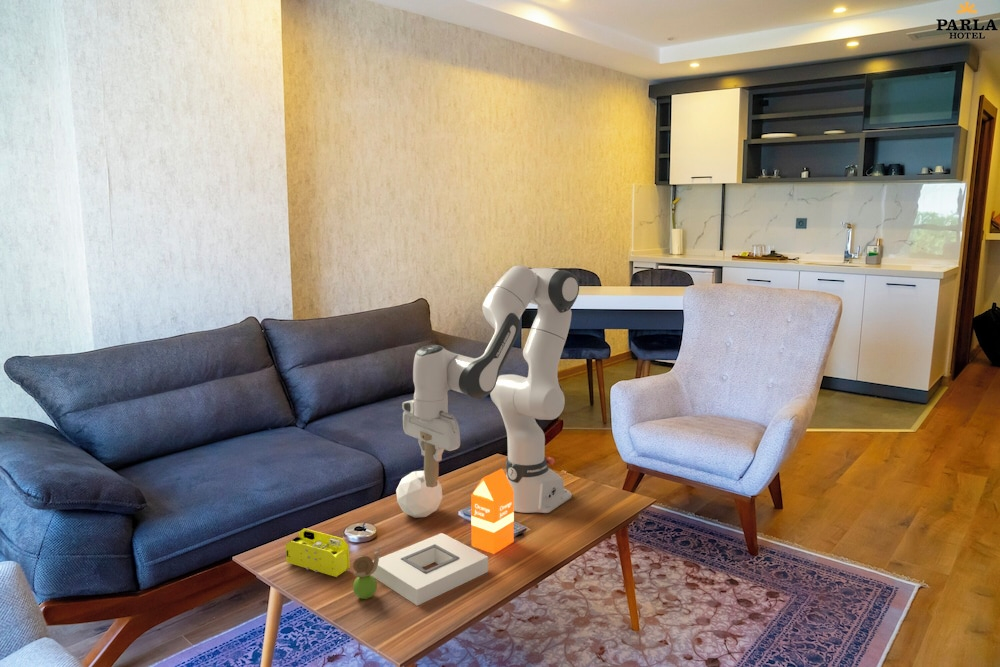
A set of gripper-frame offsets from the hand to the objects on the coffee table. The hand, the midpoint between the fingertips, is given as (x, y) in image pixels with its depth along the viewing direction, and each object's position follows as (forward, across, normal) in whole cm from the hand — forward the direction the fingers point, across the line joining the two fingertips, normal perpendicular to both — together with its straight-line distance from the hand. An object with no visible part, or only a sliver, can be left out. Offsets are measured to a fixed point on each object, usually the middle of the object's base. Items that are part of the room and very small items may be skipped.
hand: (431, 458), depth 192 cm
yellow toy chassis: (+24, +8, +30) cm, 39 cm away
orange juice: (+24, -13, -10) cm, 29 cm away
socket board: (+23, -14, +12) cm, 30 cm away
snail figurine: (+24, -12, +29) cm, 39 cm away
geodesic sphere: (+24, +15, -7) cm, 29 cm away
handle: (+8, 0, 0) cm, 8 cm away
